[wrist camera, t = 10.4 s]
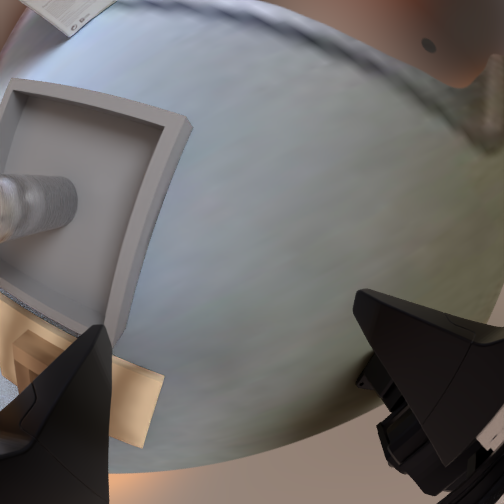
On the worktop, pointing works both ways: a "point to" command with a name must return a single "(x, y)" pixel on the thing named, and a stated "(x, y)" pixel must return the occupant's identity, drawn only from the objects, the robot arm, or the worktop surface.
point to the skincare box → (68, 12)
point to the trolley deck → (123, 373)
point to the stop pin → (34, 204)
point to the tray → (87, 197)
